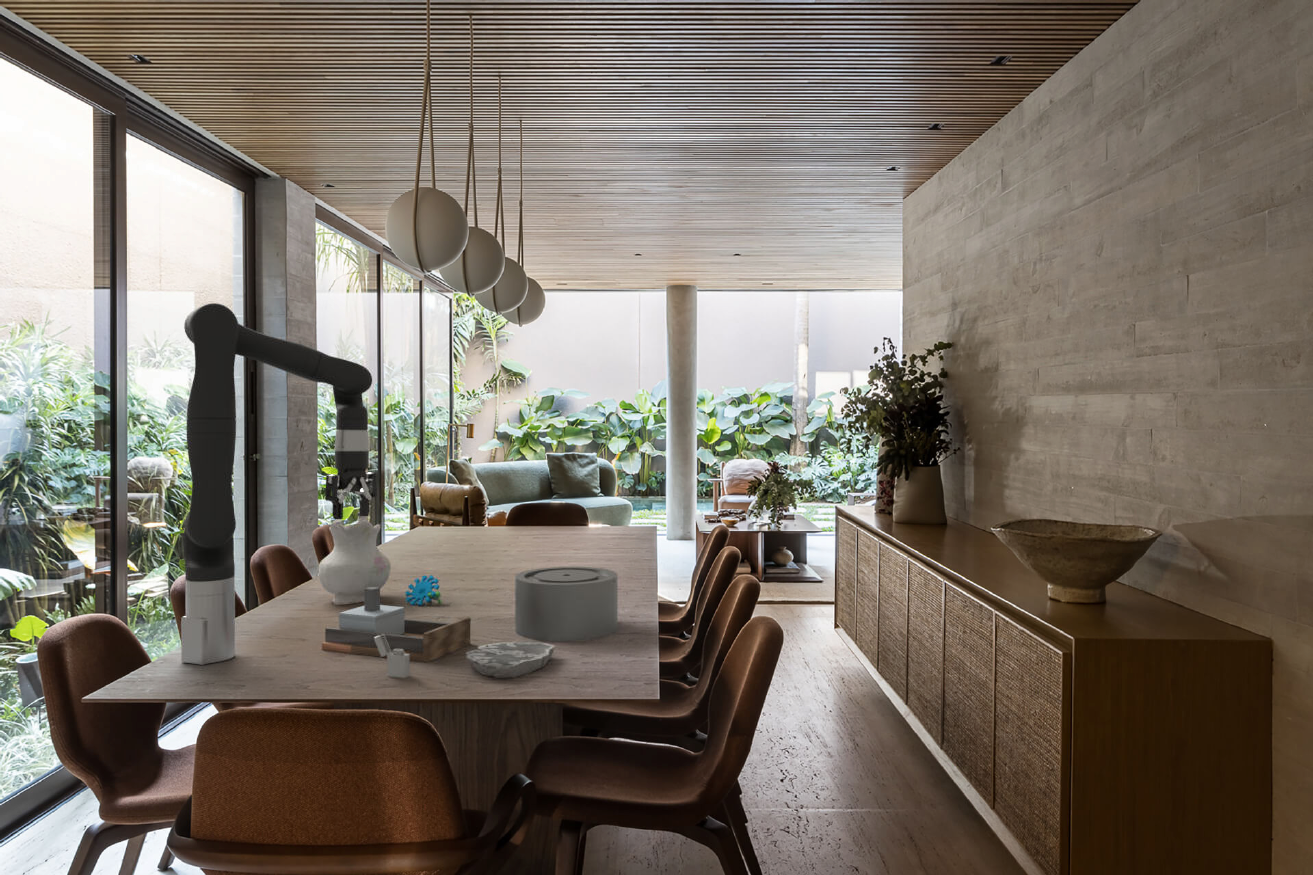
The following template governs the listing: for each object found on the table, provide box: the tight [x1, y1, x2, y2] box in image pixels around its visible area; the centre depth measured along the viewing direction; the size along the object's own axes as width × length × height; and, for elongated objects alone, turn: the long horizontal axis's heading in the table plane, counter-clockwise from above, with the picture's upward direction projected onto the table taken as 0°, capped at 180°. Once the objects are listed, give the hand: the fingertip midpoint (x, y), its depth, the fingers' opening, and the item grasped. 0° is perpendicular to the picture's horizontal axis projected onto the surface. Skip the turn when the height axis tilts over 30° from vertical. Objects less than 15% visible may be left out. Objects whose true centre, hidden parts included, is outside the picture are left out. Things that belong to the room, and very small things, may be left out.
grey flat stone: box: [464, 640, 555, 679], centre depth 168 cm, size 20×17×3 cm
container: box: [514, 566, 619, 643], centre depth 200 cm, size 25×25×13 cm
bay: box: [321, 616, 471, 663], centre depth 183 cm, size 16×28×6 cm, turn 69°
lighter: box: [374, 634, 411, 679], centre depth 161 cm, size 7×2×8 cm, turn 75°
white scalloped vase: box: [317, 511, 392, 606], centre depth 234 cm, size 22×20×25 cm
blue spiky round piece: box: [404, 574, 442, 607], centre depth 230 cm, size 11×6×10 cm
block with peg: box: [338, 587, 406, 635], centre depth 185 cm, size 10×10×11 cm
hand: (351, 517), depth 192 cm, fingers open, 8 cm apart
